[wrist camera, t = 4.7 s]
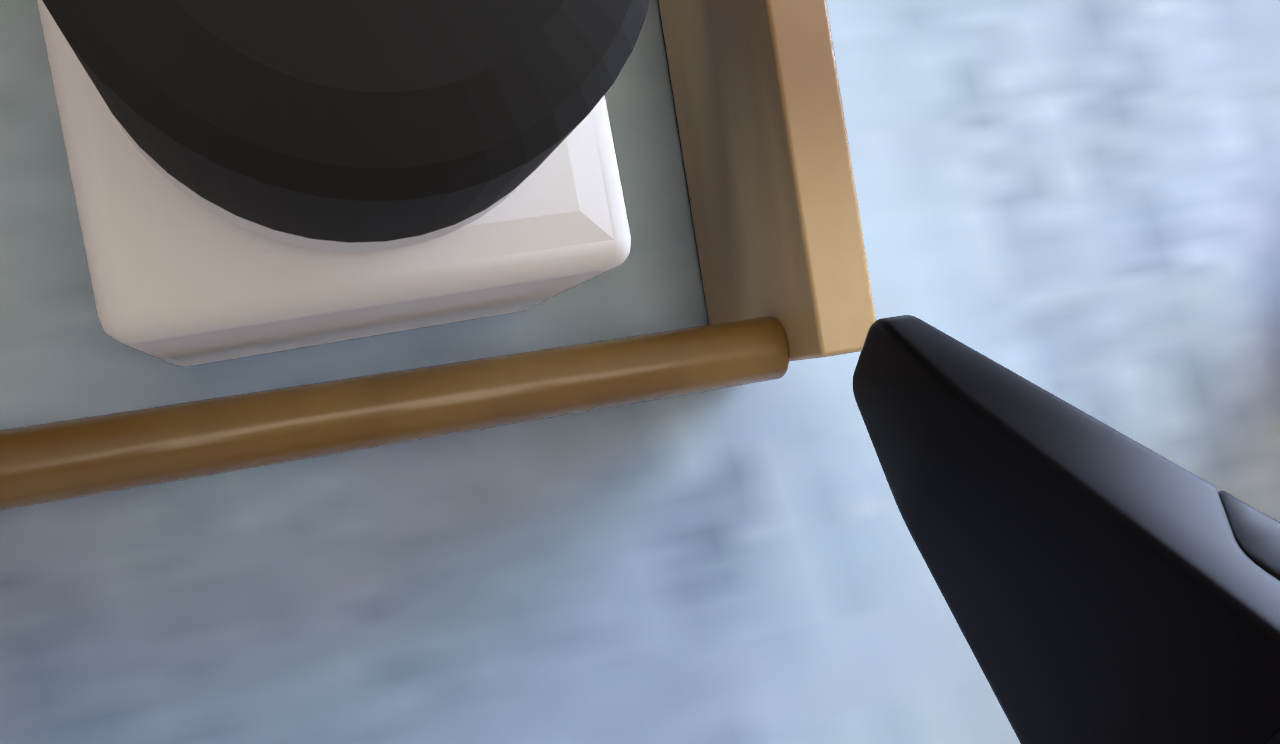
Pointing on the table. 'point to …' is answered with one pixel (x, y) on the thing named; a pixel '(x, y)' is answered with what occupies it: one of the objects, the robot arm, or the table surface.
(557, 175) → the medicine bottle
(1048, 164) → the table surface
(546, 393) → the spice rack
